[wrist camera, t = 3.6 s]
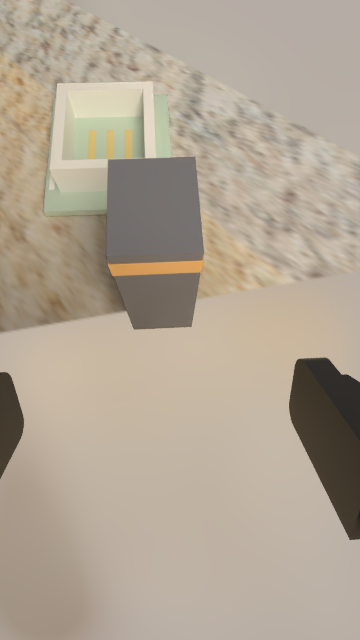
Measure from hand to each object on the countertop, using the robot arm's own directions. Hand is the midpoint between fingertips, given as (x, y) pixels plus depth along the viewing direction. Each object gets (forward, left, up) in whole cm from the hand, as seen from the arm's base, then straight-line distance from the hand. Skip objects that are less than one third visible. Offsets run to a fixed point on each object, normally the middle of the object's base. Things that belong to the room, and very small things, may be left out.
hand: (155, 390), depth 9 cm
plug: (+5, +7, -12) cm, 15 cm away
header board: (+9, +20, -12) cm, 25 cm away
